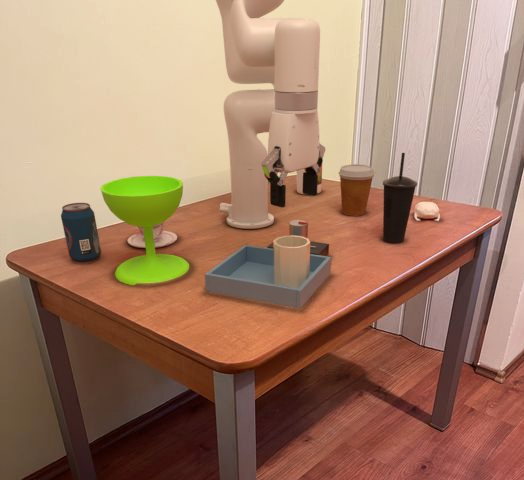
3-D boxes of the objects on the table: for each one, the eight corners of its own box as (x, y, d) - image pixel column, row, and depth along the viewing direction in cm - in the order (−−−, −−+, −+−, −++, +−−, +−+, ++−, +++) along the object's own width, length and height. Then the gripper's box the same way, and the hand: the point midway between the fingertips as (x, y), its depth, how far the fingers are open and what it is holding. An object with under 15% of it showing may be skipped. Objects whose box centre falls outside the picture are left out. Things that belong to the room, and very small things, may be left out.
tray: (205, 293, 105) (204, 274, 103) (245, 262, 118) (244, 244, 116) (300, 311, 98) (300, 290, 95) (330, 275, 111) (331, 256, 109)
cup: (268, 289, 105) (267, 244, 100) (281, 276, 110) (281, 233, 105) (301, 294, 102) (302, 249, 98) (313, 281, 107) (314, 237, 103)
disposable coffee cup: (376, 210, 150) (380, 166, 143) (362, 219, 143) (366, 173, 137) (345, 206, 154) (348, 162, 148) (330, 214, 147) (332, 169, 141)
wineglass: (125, 257, 122) (113, 175, 113) (195, 256, 122) (188, 175, 112) (105, 286, 108) (89, 196, 99) (184, 286, 108) (175, 196, 99)
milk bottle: (295, 194, 165) (296, 125, 155) (297, 188, 172) (299, 121, 161) (320, 195, 164) (323, 125, 154) (322, 189, 170) (324, 121, 160)
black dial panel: (265, 260, 119) (265, 247, 117) (280, 248, 125) (280, 235, 124) (317, 268, 115) (317, 254, 113) (329, 255, 121) (330, 242, 119)
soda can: (68, 256, 123) (57, 204, 117) (99, 251, 125) (90, 200, 119) (72, 266, 118) (60, 212, 111) (104, 261, 120) (94, 208, 114)
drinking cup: (410, 246, 125) (422, 157, 115) (376, 244, 127) (385, 156, 116) (409, 235, 132) (420, 150, 121) (377, 234, 133) (385, 149, 123)
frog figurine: (441, 222, 140) (443, 207, 138) (414, 221, 141) (416, 207, 139) (436, 213, 147) (438, 199, 145) (411, 212, 148) (412, 198, 146)
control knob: (286, 246, 118) (286, 223, 115) (293, 240, 121) (293, 217, 118) (303, 249, 116) (304, 225, 113) (309, 243, 119) (310, 219, 117)
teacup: (117, 241, 131) (113, 216, 128) (157, 229, 139) (154, 205, 135) (147, 253, 124) (144, 227, 121) (187, 239, 132) (185, 214, 128)
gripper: (308, 95, 101) (306, 187, 110) (246, 106, 90) (249, 206, 99) (342, 98, 97) (336, 193, 106) (280, 109, 86) (280, 214, 95)
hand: (294, 199), depth 103 cm, fingers open, 9 cm apart
